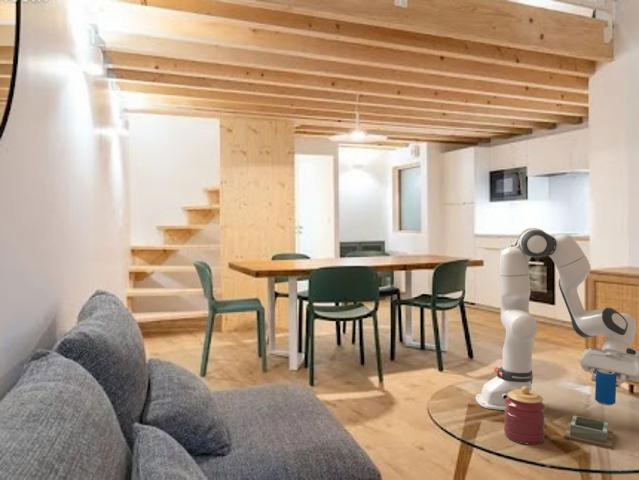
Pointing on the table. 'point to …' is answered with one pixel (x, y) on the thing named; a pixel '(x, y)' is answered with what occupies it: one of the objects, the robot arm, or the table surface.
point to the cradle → (589, 431)
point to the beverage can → (605, 387)
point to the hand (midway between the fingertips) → (605, 383)
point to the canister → (524, 416)
